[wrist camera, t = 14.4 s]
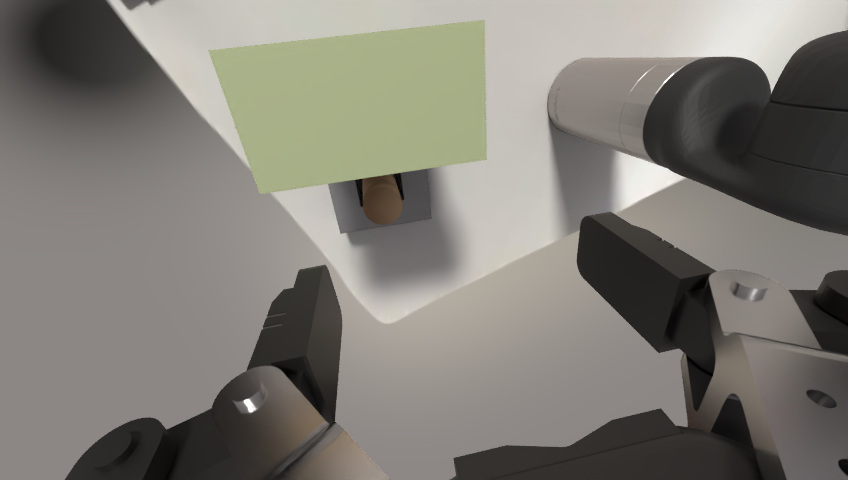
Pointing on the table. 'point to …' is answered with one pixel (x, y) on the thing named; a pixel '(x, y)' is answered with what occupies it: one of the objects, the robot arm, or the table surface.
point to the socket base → (359, 111)
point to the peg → (381, 199)
